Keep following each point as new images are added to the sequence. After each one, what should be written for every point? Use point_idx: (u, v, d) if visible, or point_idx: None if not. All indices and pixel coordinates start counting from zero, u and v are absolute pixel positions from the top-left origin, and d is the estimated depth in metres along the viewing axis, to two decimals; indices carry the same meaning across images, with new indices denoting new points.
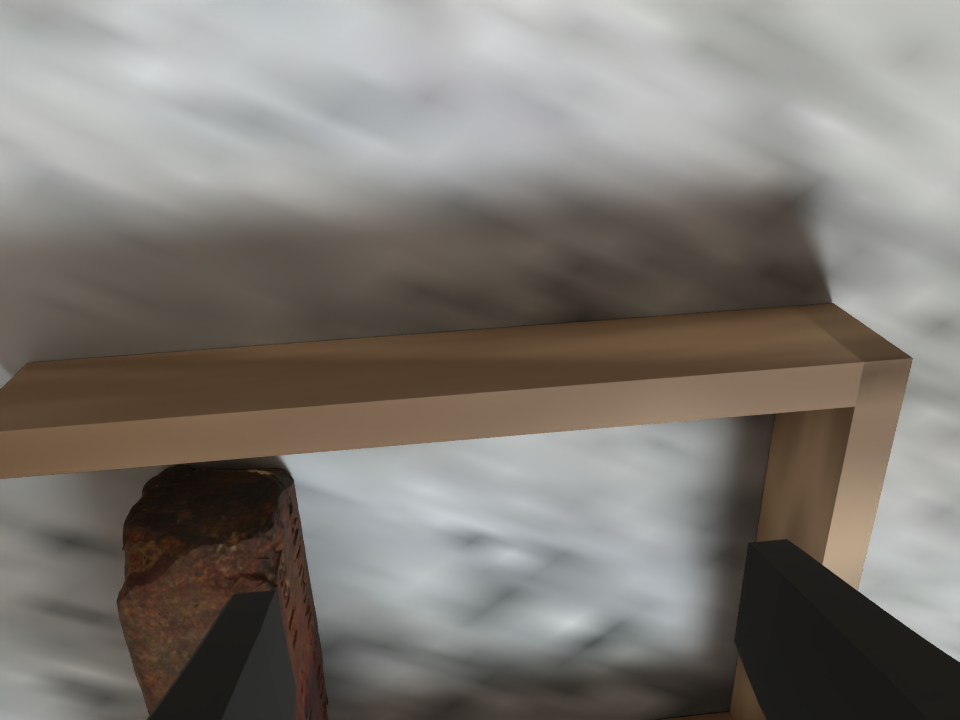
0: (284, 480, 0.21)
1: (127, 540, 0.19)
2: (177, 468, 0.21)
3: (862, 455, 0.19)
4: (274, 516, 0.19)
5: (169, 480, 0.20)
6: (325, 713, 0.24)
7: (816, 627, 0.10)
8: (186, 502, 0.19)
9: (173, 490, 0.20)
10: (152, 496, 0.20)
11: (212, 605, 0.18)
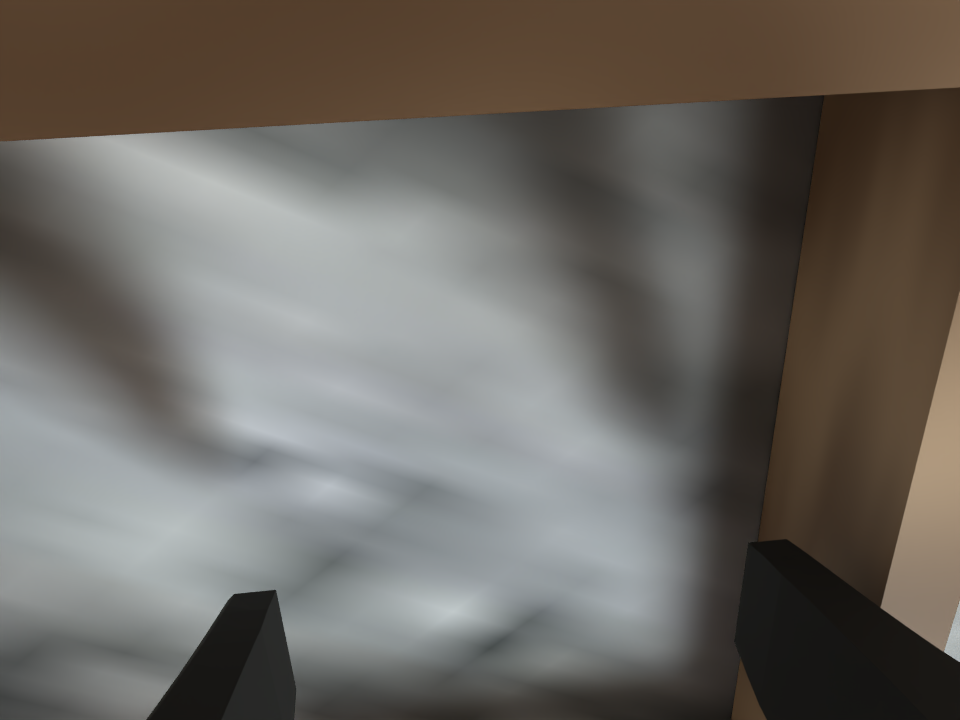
0: None
1: None
2: None
3: None
4: None
5: None
6: None
7: (816, 627, 0.10)
8: None
9: None
10: None
11: None
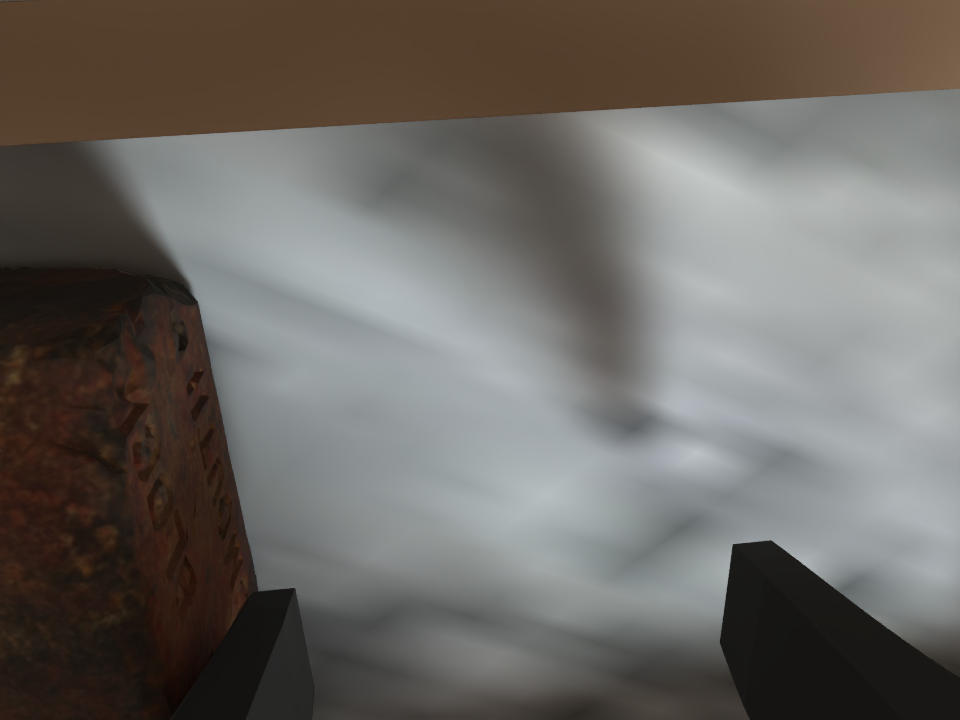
0: (173, 292, 0.11)
1: None
2: None
3: None
4: (124, 324, 0.09)
5: None
6: None
7: (798, 629, 0.10)
8: None
9: None
10: None
11: None
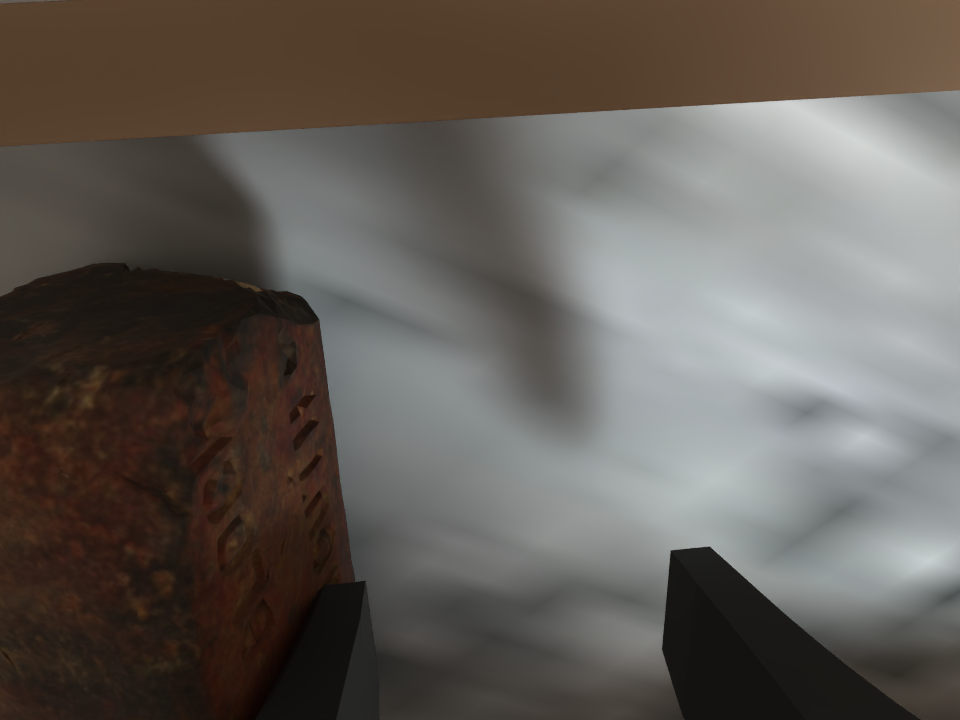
0: (289, 309, 0.10)
1: None
2: (102, 265, 0.11)
3: None
4: (212, 351, 0.08)
5: (70, 279, 0.10)
6: None
7: (725, 637, 0.09)
8: (64, 310, 0.09)
9: (61, 292, 0.10)
10: (18, 296, 0.10)
11: (28, 535, 0.07)
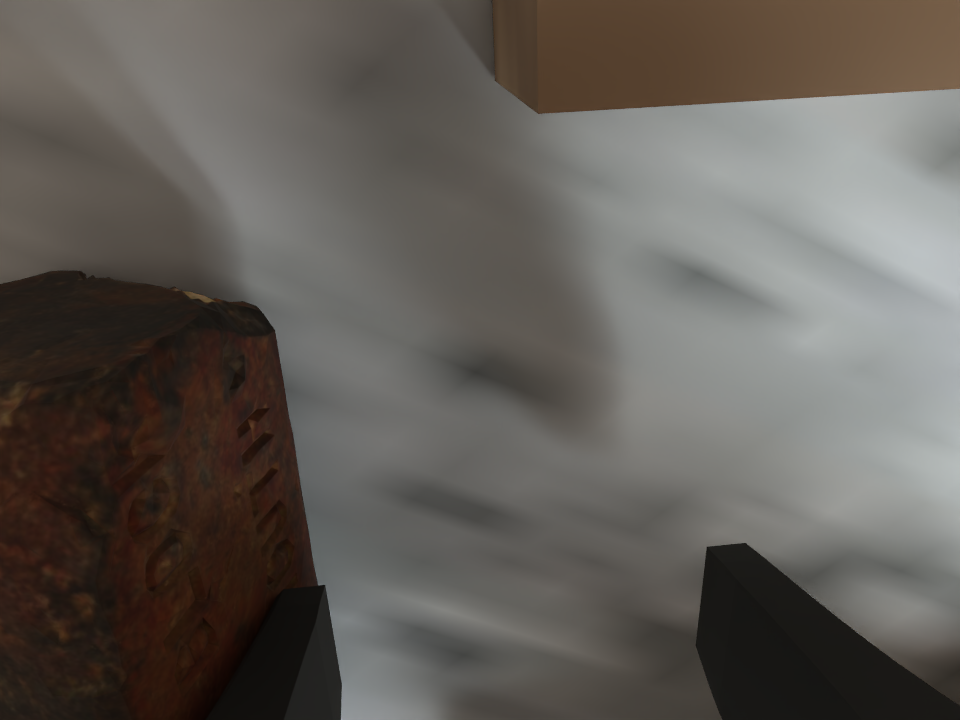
0: (240, 321, 0.10)
1: None
2: (58, 273, 0.10)
3: None
4: (140, 367, 0.08)
5: (23, 287, 0.10)
6: None
7: (768, 633, 0.10)
8: (5, 320, 0.09)
9: (9, 302, 0.09)
10: None
11: None
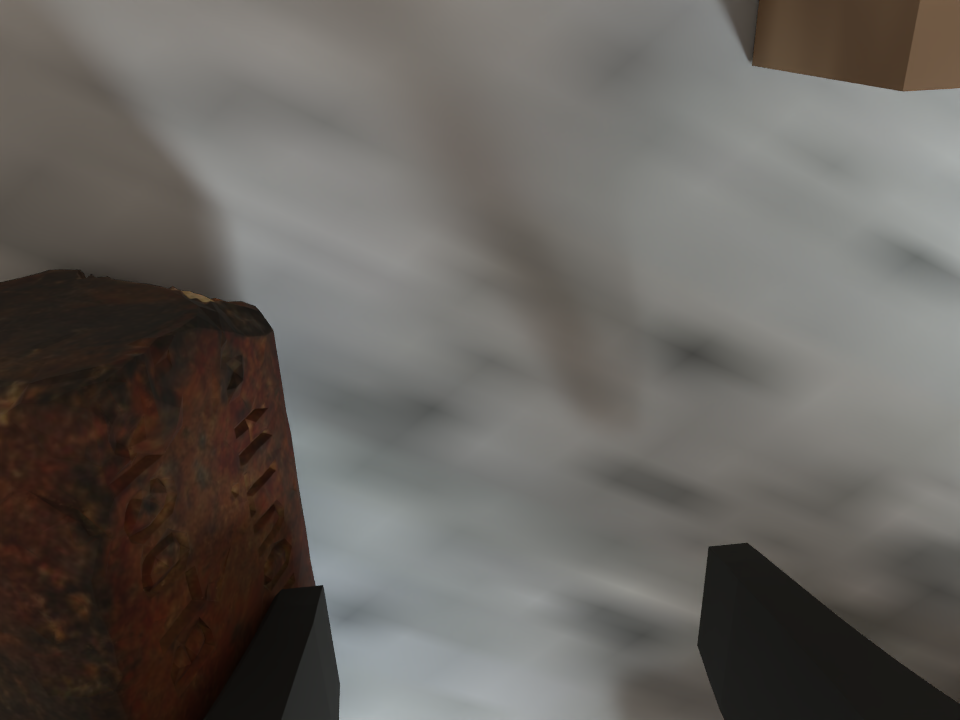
0: (238, 320, 0.10)
1: None
2: (56, 272, 0.10)
3: None
4: (138, 367, 0.08)
5: (21, 286, 0.10)
6: None
7: (770, 632, 0.10)
8: (3, 320, 0.09)
9: (8, 300, 0.09)
10: None
11: None
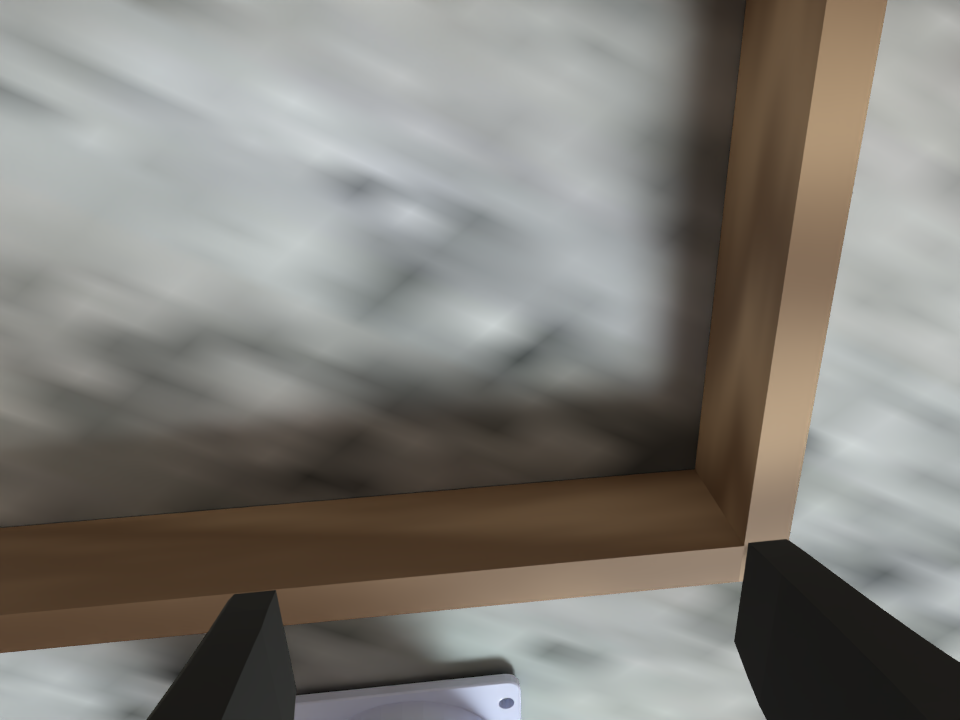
0: None
1: None
2: None
3: None
4: None
5: None
6: None
7: (816, 627, 0.10)
8: None
9: None
10: None
11: None
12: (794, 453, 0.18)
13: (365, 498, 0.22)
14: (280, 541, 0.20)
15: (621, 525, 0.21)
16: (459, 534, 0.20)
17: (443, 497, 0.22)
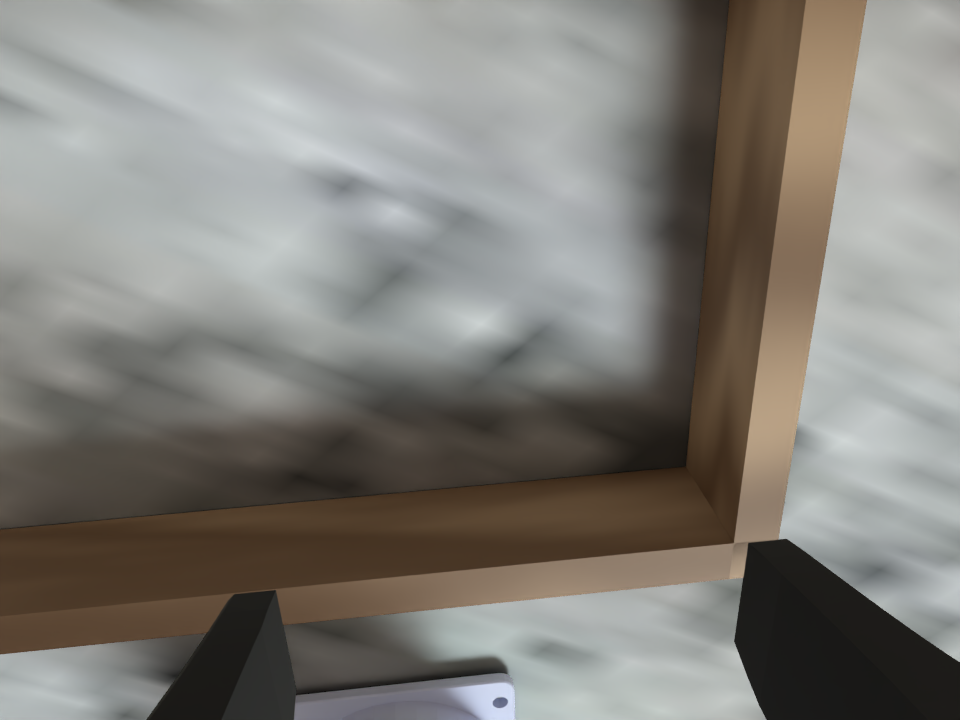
0: None
1: None
2: None
3: None
4: None
5: None
6: None
7: (816, 627, 0.10)
8: None
9: None
10: None
11: None
12: (782, 449, 0.18)
13: (355, 498, 0.22)
14: (269, 541, 0.20)
15: (611, 523, 0.20)
16: (448, 533, 0.20)
17: (433, 496, 0.22)
